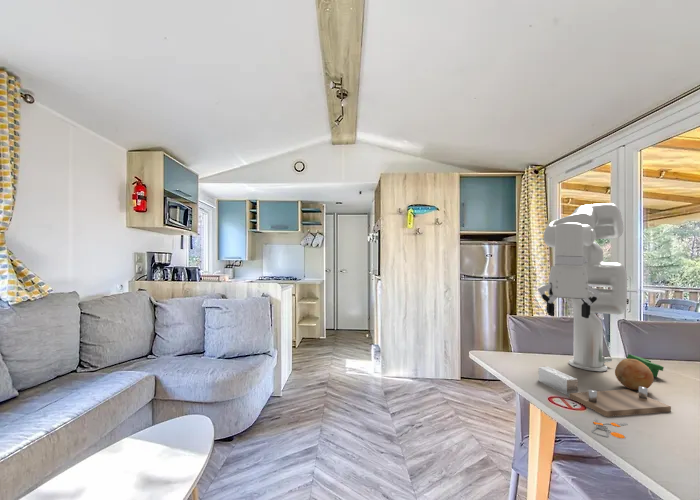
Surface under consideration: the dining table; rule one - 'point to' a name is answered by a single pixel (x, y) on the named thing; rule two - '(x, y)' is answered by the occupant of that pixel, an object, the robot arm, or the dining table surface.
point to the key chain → (602, 427)
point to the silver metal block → (558, 380)
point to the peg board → (620, 402)
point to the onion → (633, 374)
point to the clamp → (648, 364)
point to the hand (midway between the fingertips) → (567, 316)
